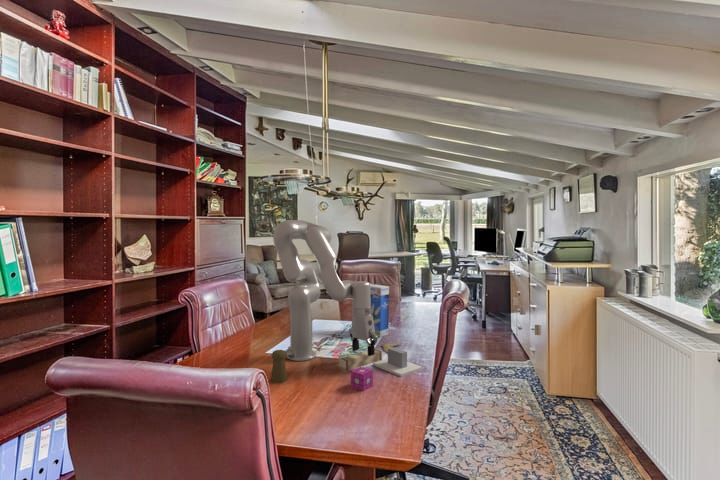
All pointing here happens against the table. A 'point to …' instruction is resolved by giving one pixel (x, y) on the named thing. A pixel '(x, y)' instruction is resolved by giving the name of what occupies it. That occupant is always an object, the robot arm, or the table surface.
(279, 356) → the cork
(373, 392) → the table surface
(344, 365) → the beech bar
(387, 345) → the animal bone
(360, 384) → the puzzle toy
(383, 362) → the ridge block
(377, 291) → the string lights box
